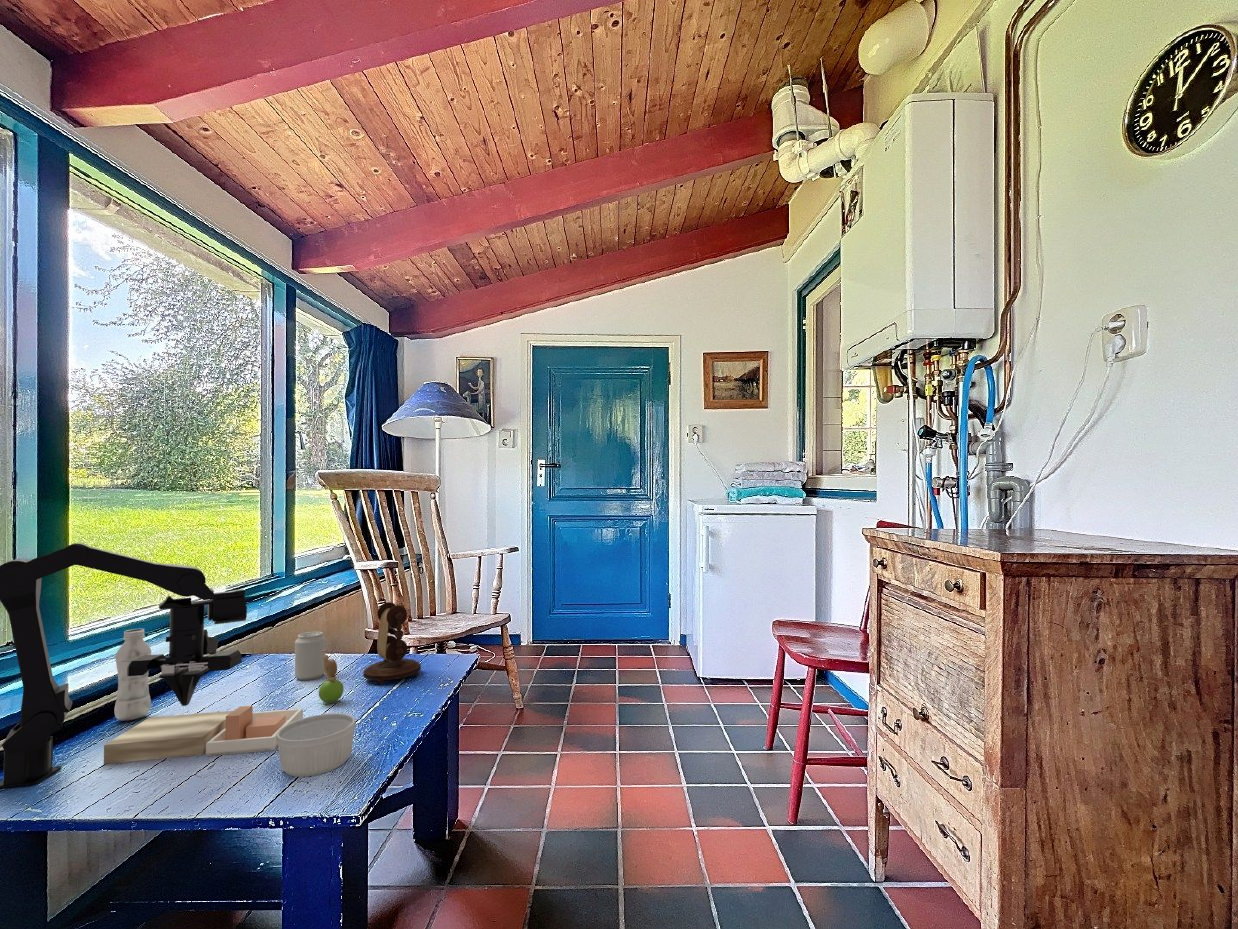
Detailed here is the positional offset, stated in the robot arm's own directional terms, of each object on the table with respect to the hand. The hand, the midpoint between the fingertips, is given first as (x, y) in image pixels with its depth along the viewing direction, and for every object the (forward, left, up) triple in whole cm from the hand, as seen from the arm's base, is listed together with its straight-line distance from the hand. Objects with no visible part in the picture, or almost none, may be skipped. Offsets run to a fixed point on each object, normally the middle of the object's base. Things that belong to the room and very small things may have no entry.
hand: (185, 705), depth 120 cm
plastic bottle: (+18, +20, -8) cm, 28 cm away
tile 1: (-1, -9, -4) cm, 10 cm away
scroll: (+36, -33, -8) cm, 50 cm away
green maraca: (+19, -22, -8) cm, 30 cm away
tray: (0, -14, -8) cm, 16 cm away
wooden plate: (0, +2, -8) cm, 8 cm away
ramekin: (-16, -30, -8) cm, 35 cm away
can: (+42, -10, -8) cm, 44 cm away
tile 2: (0, -15, -5) cm, 16 cm away
